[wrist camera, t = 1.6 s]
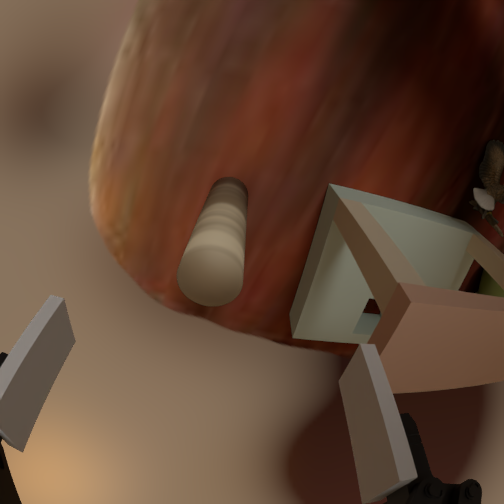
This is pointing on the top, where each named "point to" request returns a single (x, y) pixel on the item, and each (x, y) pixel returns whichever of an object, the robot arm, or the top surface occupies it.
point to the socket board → (350, 277)
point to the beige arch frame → (426, 312)
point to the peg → (216, 246)
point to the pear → (489, 286)
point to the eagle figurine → (490, 183)
